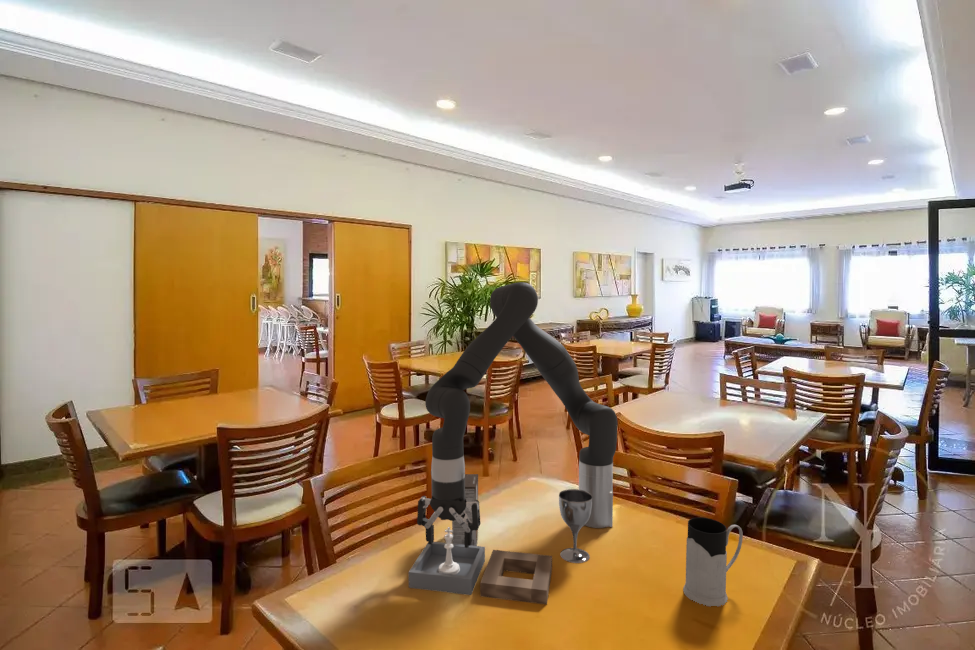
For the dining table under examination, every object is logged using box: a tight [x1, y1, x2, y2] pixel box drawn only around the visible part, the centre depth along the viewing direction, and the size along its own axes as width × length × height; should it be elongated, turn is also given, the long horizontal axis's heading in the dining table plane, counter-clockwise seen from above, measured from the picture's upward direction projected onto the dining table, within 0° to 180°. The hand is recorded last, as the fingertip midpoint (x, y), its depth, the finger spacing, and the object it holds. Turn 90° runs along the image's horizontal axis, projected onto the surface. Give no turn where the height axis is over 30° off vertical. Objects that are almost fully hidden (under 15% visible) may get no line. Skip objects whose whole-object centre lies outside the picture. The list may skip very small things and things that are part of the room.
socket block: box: [479, 549, 553, 605], centre depth 111 cm, size 14×14×3 cm
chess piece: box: [438, 526, 460, 575], centre depth 115 cm, size 5×5×10 cm
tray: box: [408, 541, 486, 596], centre depth 115 cm, size 14×14×4 cm
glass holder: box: [683, 517, 744, 607], centre depth 108 cm, size 9×14×15 cm, turn 111°
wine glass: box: [558, 488, 592, 564], centre depth 122 cm, size 8×8×15 cm
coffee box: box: [451, 473, 479, 546], centre depth 130 cm, size 9×6×16 cm
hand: (448, 544), depth 114 cm, fingers open, 8 cm apart
